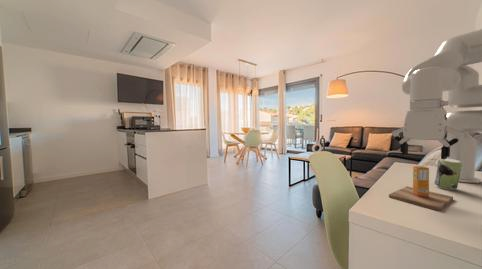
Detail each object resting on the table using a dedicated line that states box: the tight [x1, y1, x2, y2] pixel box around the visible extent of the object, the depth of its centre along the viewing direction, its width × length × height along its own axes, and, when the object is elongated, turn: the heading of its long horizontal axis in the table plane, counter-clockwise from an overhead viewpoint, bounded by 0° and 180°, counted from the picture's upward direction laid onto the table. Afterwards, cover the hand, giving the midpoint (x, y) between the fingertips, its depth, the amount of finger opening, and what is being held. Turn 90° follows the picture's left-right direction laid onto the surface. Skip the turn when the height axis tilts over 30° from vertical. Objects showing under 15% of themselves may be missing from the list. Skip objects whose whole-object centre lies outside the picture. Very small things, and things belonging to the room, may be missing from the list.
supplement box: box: [412, 165, 430, 197], centre depth 62 cm, size 3×4×10 cm
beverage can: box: [434, 158, 462, 191], centre depth 71 cm, size 6×7×12 cm
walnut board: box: [388, 186, 454, 212], centre depth 62 cm, size 16×12×1 cm
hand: (423, 156), depth 61 cm, fingers open, 9 cm apart
